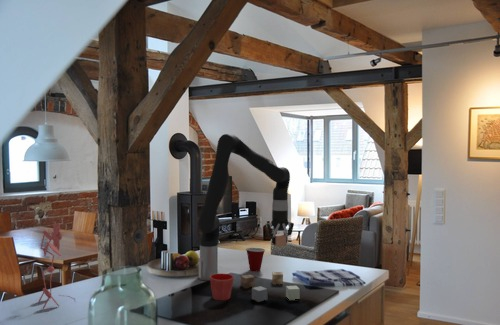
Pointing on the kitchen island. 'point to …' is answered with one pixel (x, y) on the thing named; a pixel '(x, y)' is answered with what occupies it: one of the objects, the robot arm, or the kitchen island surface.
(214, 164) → the robot arm
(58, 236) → the figurine
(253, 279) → the walnut cube
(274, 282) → the oak cube
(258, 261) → the plastic cup
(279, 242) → the terracotta cube
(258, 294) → the slate cube
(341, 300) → the kitchen island surface
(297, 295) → the sage cube
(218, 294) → the flower pot
